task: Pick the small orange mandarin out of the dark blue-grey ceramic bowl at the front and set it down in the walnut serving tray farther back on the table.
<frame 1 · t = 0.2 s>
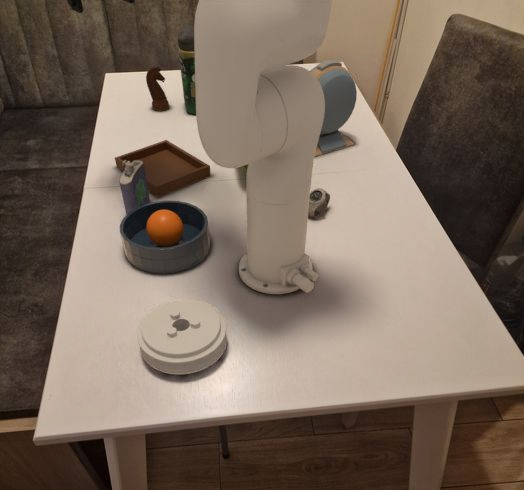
hand: (103, 6, 83), 31 cm above the table, tool pointing down, fingers open, 9 cm apart
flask: (139, 214, 96), on the table
mandarin: (165, 228, 85), point 4 cm above the table, touching bowl
bowl: (168, 247, 88), on the table
tray: (163, 172, 107), on the table
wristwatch: (318, 213, 96), on the table
chess piece: (160, 109, 130), on the table
lettuce: (268, 178, 106), on the table
coffee jar: (199, 109, 131), on the table
alarm clock: (321, 143, 117), on the table
lid: (184, 346, 72), on the table
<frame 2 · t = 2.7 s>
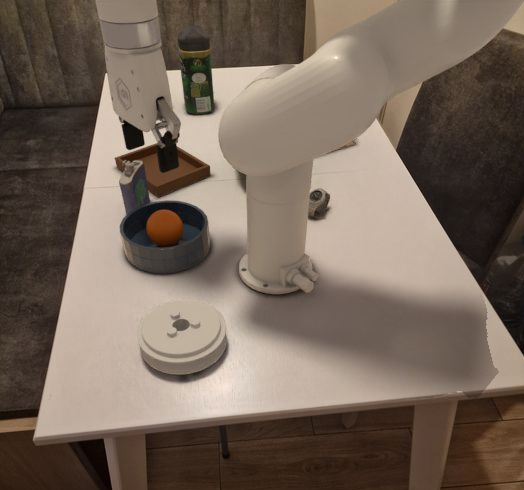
hand: (152, 158, 76), 16 cm above the table, tool pointing down, fingers open, 9 cm apart
nothing on the table moved.
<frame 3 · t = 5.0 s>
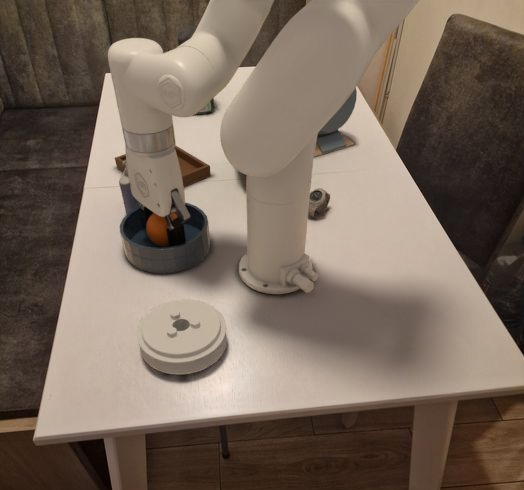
hand: (166, 235, 86), 2 cm above the table, tool pointing down, fingers closed on mandarin, 6 cm apart
mandarin: (164, 228, 85), point 4 cm above the table, touching bowl, gripper
everything else where it was.
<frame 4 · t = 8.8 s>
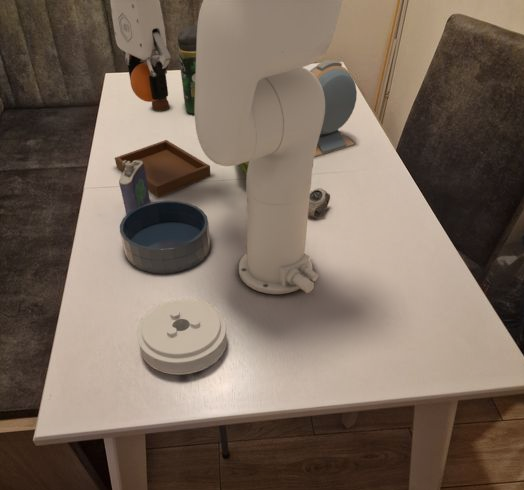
hand: (149, 91, 91), 18 cm above the table, tool pointing down, fingers closed on mandarin, 6 cm apart
mandarin: (148, 82, 90), point 19 cm above the table, touching gripper
everything else where it was.
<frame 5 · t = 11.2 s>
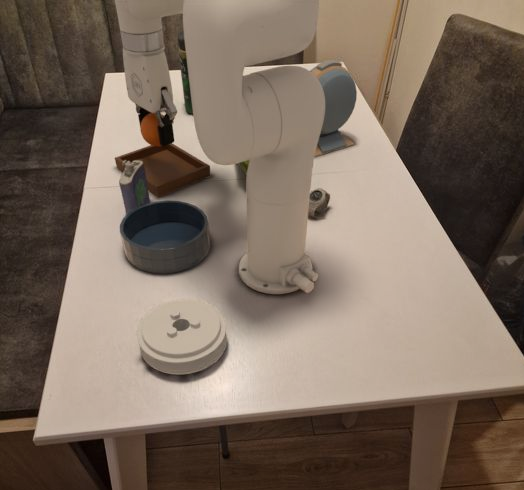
hand: (157, 137, 101), 8 cm above the table, tool pointing down, fingers closed on mandarin, 6 cm apart
mandarin: (156, 129, 100), point 9 cm above the table, touching gripper
everything else where it was.
when the fingers open (2 cm above the table, at t = 13.0 s): mandarin stays where it is, resting on tray.
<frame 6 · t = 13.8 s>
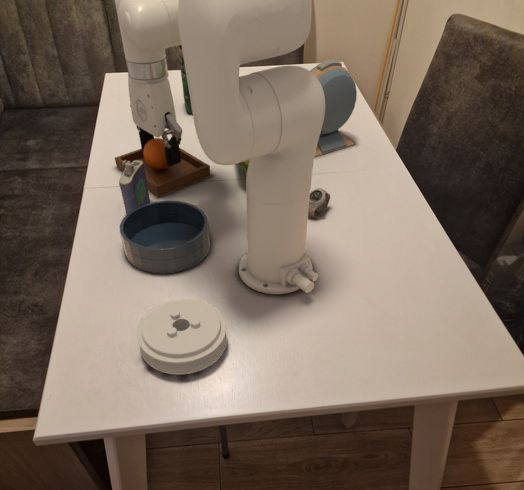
hand: (161, 156, 104), 4 cm above the table, tool pointing down, fingers open, 9 cm apart
mandarin: (158, 154, 104), point 4 cm above the table, tilted 13°, touching tray
everything else where it was.
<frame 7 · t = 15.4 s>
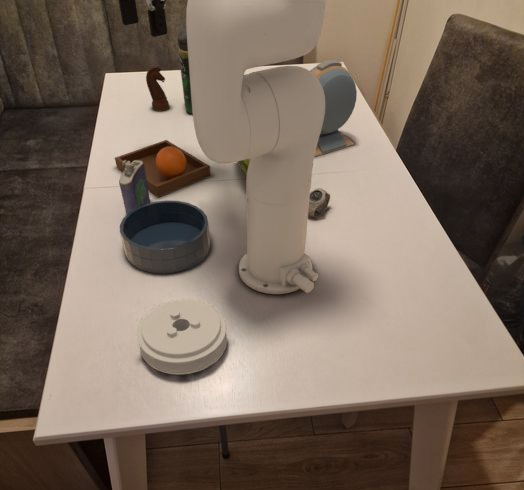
hand: (144, 29, 90), 26 cm above the table, tool pointing down, fingers open, 9 cm apart
mandarin: (171, 162, 102), point 4 cm above the table, tilted 78°, touching tray
everything else where it was.
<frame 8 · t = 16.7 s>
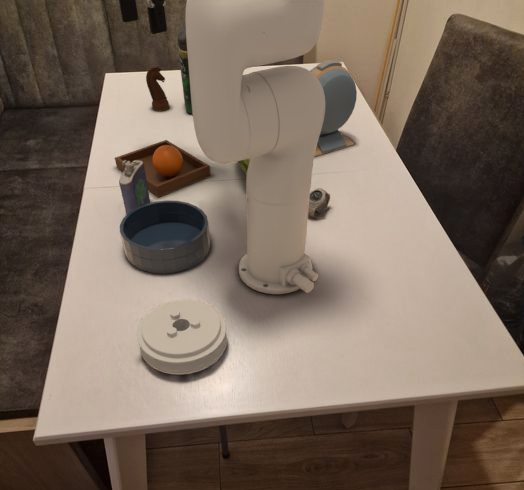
hand: (144, 26, 91), 26 cm above the table, tool pointing down, fingers open, 9 cm apart
mandarin: (167, 161, 102), point 4 cm above the table, tilted 60°, touching tray
everything else where it was.
at the end: mandarin inside the target area on the tray (3.1 cm from its centre), point 3.8 cm above the tray's base; mandarin touching tray; the gripper is holding nothing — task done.
